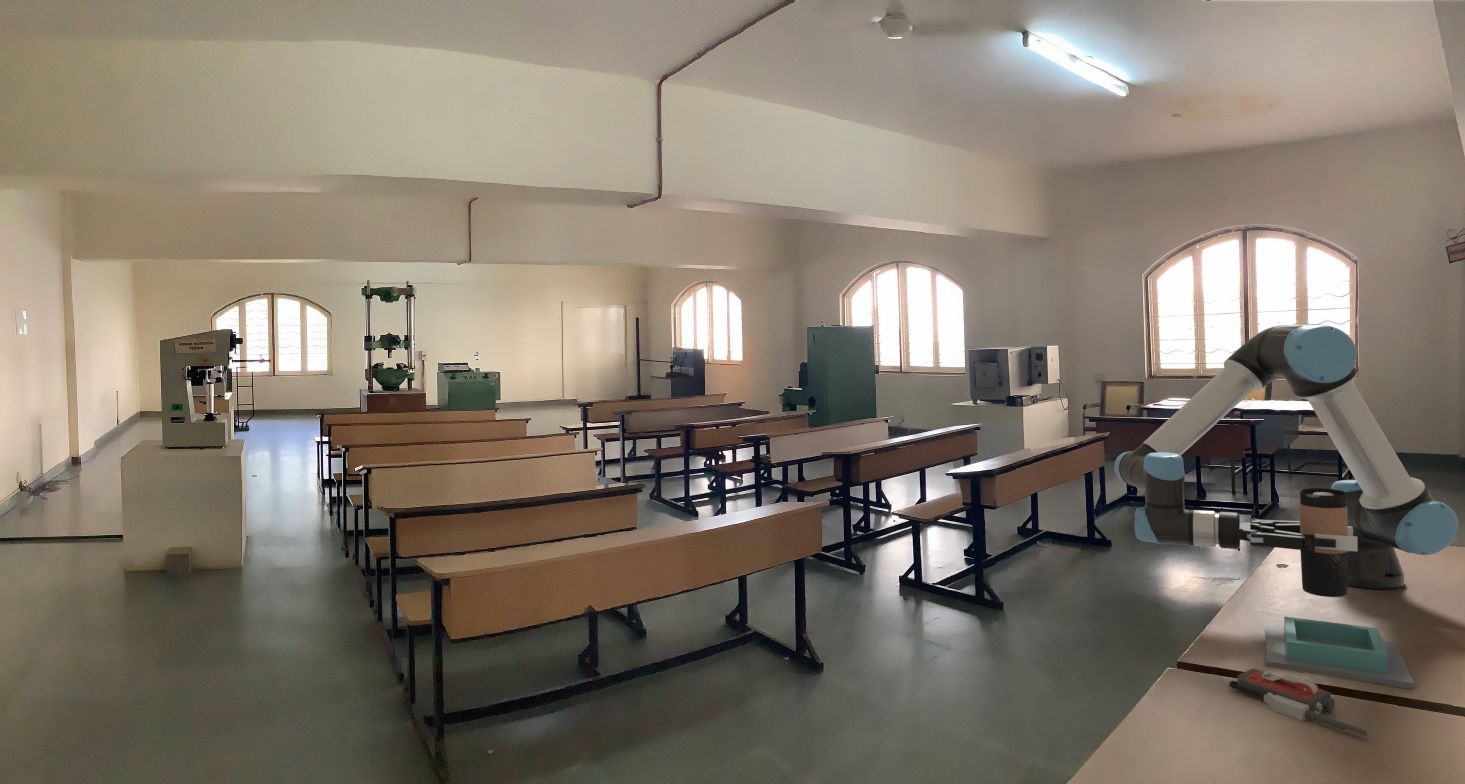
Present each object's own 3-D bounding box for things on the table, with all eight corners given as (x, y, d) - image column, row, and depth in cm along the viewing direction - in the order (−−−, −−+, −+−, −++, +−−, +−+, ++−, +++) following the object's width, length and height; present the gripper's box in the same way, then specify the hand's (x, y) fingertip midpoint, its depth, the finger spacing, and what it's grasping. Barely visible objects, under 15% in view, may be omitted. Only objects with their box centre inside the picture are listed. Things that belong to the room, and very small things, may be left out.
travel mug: (1339, 586, 163) (1338, 488, 162) (1355, 598, 156) (1354, 495, 154) (1295, 584, 166) (1294, 487, 164) (1308, 596, 158) (1307, 495, 157)
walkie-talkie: (1220, 695, 134) (1363, 745, 117) (1220, 669, 134) (1363, 715, 116) (1249, 681, 138) (1390, 727, 121) (1249, 656, 138) (1391, 699, 121)
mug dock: (1265, 629, 160) (1265, 609, 160) (1395, 646, 149) (1395, 625, 149) (1266, 666, 143) (1266, 644, 143) (1413, 688, 132) (1413, 664, 132)
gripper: (1219, 535, 178) (1349, 544, 166) (1216, 559, 161) (1361, 572, 149) (1219, 501, 178) (1349, 508, 166) (1215, 522, 161) (1360, 532, 149)
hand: (1354, 538), depth 157 cm, fingers closed on travel mug, 7 cm apart
